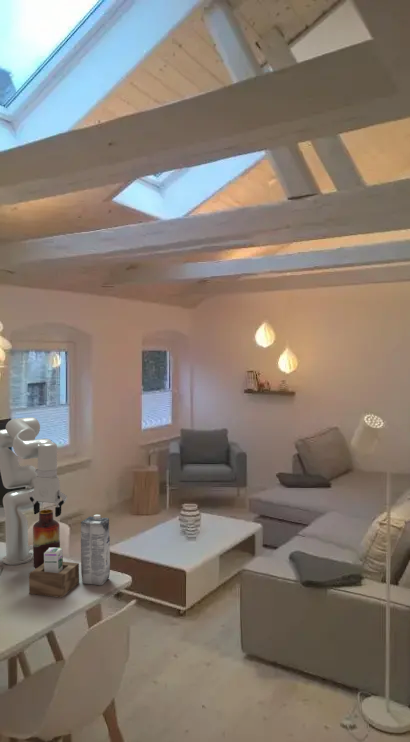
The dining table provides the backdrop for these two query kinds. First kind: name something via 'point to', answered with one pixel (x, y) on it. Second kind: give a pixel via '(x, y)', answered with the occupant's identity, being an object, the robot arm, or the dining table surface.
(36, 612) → the dining table surface
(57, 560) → the syrup box
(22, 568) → the dining table surface
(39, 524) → the vase
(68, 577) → the socket block
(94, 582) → the juice carton
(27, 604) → the dining table surface
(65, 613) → the dining table surface
